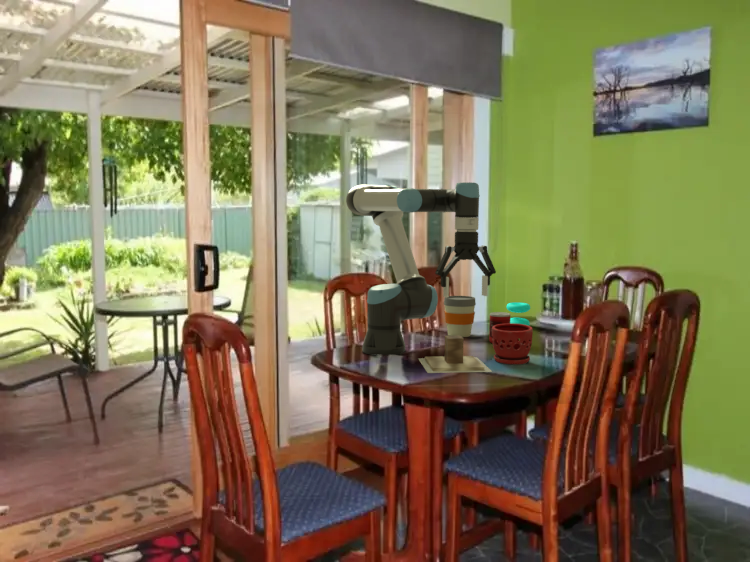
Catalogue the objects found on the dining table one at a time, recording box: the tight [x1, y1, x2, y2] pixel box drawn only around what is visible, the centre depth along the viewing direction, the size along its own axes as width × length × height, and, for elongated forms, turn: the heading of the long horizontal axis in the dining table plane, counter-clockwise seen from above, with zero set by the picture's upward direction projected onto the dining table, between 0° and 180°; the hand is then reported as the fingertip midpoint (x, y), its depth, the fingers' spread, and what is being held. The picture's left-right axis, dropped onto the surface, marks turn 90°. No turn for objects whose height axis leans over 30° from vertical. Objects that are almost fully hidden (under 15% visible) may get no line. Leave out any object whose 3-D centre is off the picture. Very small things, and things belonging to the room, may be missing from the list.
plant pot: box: [491, 323, 534, 365], centre depth 222 cm, size 13×13×12 cm
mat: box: [417, 356, 493, 374], centre depth 217 cm, size 20×20×1 cm
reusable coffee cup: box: [443, 295, 477, 338], centre depth 269 cm, size 13×13×15 cm
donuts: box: [506, 302, 531, 326], centre depth 289 cm, size 10×10×10 cm
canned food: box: [488, 311, 511, 344], centre depth 255 cm, size 8×8×11 cm
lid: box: [424, 335, 484, 371], centre depth 216 cm, size 16×16×9 cm
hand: (465, 296), depth 221 cm, fingers open, 13 cm apart
